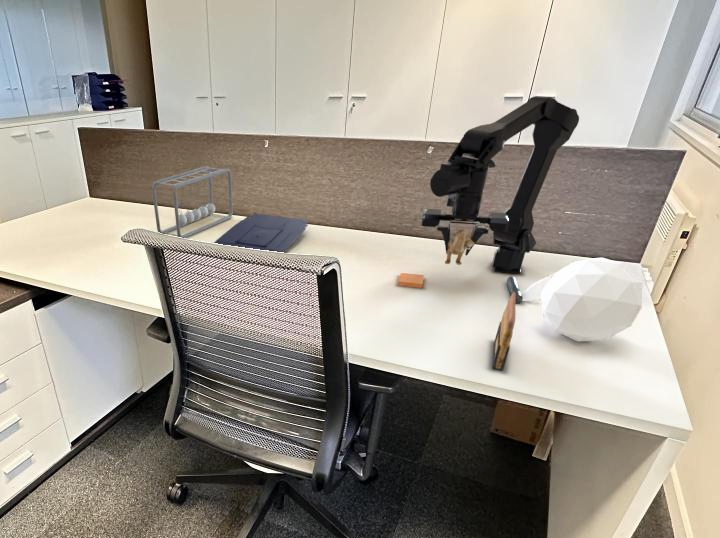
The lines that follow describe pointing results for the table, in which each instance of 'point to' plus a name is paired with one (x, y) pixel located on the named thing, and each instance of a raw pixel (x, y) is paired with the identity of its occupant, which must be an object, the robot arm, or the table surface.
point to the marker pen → (514, 289)
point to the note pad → (411, 280)
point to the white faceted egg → (589, 299)
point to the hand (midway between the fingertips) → (456, 254)
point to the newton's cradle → (195, 213)
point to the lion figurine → (458, 245)
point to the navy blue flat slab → (264, 232)
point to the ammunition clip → (504, 335)
